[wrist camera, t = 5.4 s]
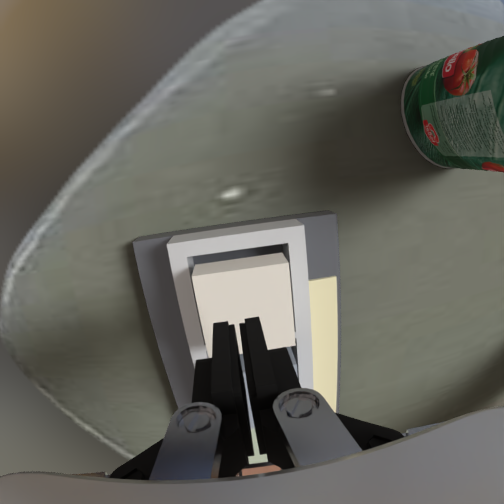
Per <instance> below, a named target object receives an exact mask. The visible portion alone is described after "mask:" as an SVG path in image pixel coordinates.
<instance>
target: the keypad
mask: <svg viewBox="0 0 504 504" xmlns="http://www.w3.org/2000/svg"><path fill="white" fill-rule="evenodd" d="M133 247H134V252H135V257H136V261H137V266H138V270H139V275H140V279H141V283H142V288H143V292H144V296H145V300H146V304H147V308H148V311H149V315H150V319H151V323H152V326H153V330H154V333H155V337H156V340H157V344H158V347H159V351H160V354H161V357H162V360H163V364H164V367H165V370H166V373H167V376H168V379H169V382H170V385H171V388H172V391H173V394H174V397H175V400H176V403H177V406H178V408H181V407H183V406H184V405H187V404H190V403H192V393H193V382H194V372H195V363H196V360H198V359H206V358H209V357H208V353H207V348H206V344H205V339H204V335H203V330H202V325H201V321H200V316H199V311H198V306H197V301H196V296H195V291H194V286H193V281H192V273H193V270H194V267H195V265H196V264H204V263H211V262H218V261H225V260H232V259H239V258H247V257H254V256H261V255H268V254H275V253H283V255H284V256H285V258H286V259H287V261H288V262H289V271H290V282H291V294H292V306H293V318H294V331H295V344H296V346H290V347H291V349H292V352H293V355H294V358H295V360H296V363H297V374H298V380H299V383H300V385H301V388H308V389H313V390H315V391H317V392H319V393H320V394H321V395H322V396H323V397H324V398H325V400H326V401H327V403H328V404H329V405H330V407H331V408H332V410H333V411H334V412H335V413H338V414H339V397H340V368H341V291H340V262H339V242H338V225H337V214H336V213H334V212H331V211H329V210H328V211H320V212H311V213H303V214H295V215H287V216H279V217H271V218H264V219H256V220H249V221H241V222H234V223H227V224H220V225H213V226H206V227H199V228H192V229H186V230H179V231H173V232H166V233H160V234H153V235H147V236H141V237H138V238H137V239H136V240H134V241H133ZM240 355H241V354H240ZM271 465H274V464H272V463H268V462H261V463H254V464H249V466H245V467H244V468H243V469H248V468H256V467H264V466H271ZM238 474H239V476H242V470H241V471H240V472H239V473H238Z"/></svg>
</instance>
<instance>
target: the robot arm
mask: <svg viewBox="0 0 504 504" xmlns="http://www.w3.org/2000/svg"><path fill="white" fill-rule="evenodd" d="M244 320H245V323H239V327H240V335H241V343H242V351H243V359H244V366H245V374H246V381H247V388H248V394H249V400H250V405H251V411H252V416H253V422H254V427H255V432H256V438H257V443H258V448H259V453H260V455H263V454H267V459H268V463H272V464H274V465H276V466H278V467H280V469H281V470H280V471H274V472H267V473H260V474H253V475H245V476H239V474H238V473H239V472H240V471H241V470H242V469H243V468H244V467H245V466H249V459H248V457H249V456H254V448H253V441H252V433H251V426H250V419H249V411H248V403H247V396H246V388H245V382H244V376H243V371H242V365H241V359H240V354H239V348H238V342H237V336H236V330H235V325H234V324H231V325H229V323H228V321H225V322H217V323H213V338H212V358H206V359H198V360H196V363H195V372H194V382H193V393H192V403H190V404H187V405H184V406H183V407H181V408H179V409H178V410H177V411H176V412H175V413H174V414H173V416H172V418H171V420H170V423H169V426H168V428H167V431H166V434H165V437H164V438H163V439H162V440H160V441H159V442H157V443H156V444H154V445H153V446H151V447H150V448H148V449H146V450H145V451H143V452H142V453H140V454H139V455H137V456H136V457H134V458H133V459H131V460H129V461H128V462H126V463H125V464H123V465H121V466H120V467H118V468H117V469H116V470H115V471H113V473H112V474H110V475H107V473H106V472H96V473H84V474H63V473H55V472H18V473H10V474H7V475H3V476H0V504H504V406H498V407H492V408H486V409H482V410H478V411H474V412H471V413H467V414H464V415H462V416H459V417H456V418H453V419H450V420H448V421H444V422H440V423H436V424H431V425H426V426H421V427H416V428H411V429H407V432H406V433H402V434H401V433H400V432H398V431H396V430H393V429H390V428H386V427H382V426H379V425H375V424H371V423H368V422H364V421H361V420H358V419H354V418H351V417H348V416H344V415H341V414H338V413H335V412H334V411H333V410H332V408H331V407H330V405H329V404H328V403H327V401H326V400H325V398H324V397H323V396H322V395H321V394H320V393H319V392H317V391H315V390H313V389H308V388H301V385H300V383H299V380H298V377H297V374H296V372H295V369H294V366H293V363H292V361H291V358H290V355H289V352H288V350H287V347H282V348H276V349H270V350H268V349H267V345H266V341H265V337H264V333H263V330H262V326H261V322H260V318H259V317H252V318H246V319H244Z"/></svg>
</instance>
